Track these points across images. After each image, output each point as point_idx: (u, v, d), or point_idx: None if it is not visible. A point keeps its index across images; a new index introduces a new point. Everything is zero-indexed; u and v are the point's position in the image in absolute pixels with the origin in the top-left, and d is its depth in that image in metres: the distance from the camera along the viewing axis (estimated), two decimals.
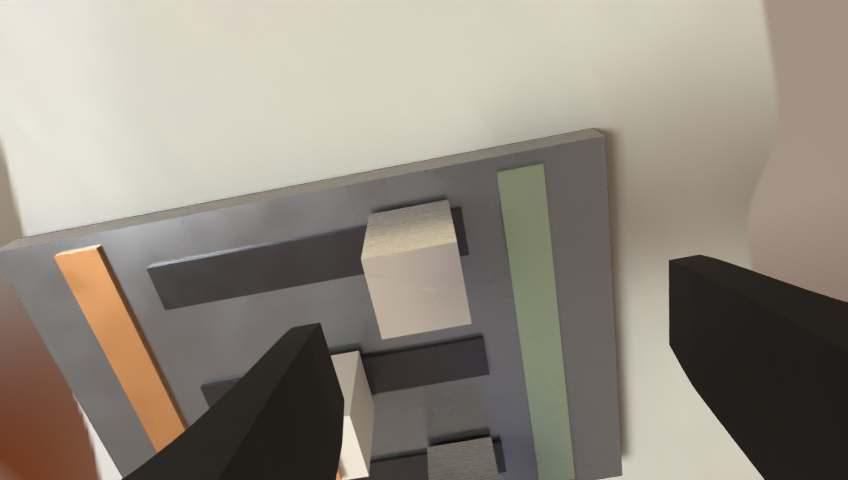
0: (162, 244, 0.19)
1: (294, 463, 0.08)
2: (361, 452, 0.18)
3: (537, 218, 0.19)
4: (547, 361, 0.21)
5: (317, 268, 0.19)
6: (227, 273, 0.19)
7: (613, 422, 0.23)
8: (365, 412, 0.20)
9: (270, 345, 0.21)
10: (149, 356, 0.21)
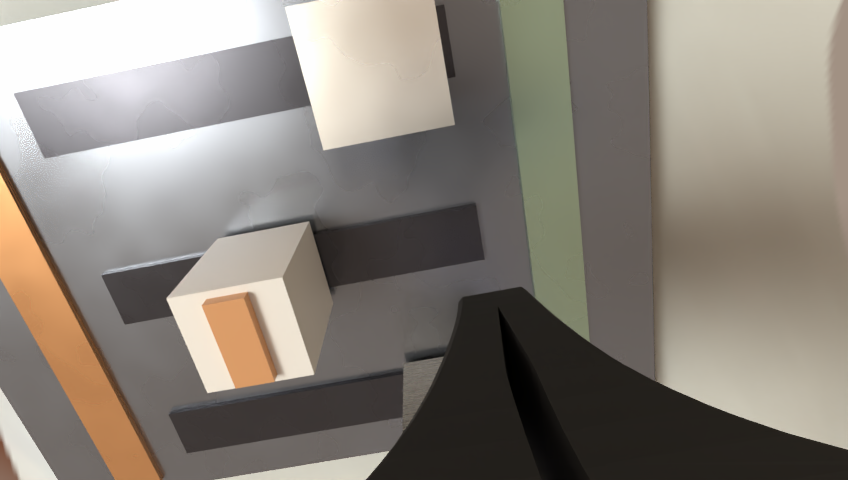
0: (33, 59, 0.14)
1: None
2: (302, 337, 0.13)
3: (549, 20, 0.14)
4: (561, 240, 0.16)
5: (248, 95, 0.14)
6: (125, 102, 0.14)
7: (646, 332, 0.18)
8: (315, 297, 0.15)
9: (192, 215, 0.16)
10: (29, 228, 0.16)
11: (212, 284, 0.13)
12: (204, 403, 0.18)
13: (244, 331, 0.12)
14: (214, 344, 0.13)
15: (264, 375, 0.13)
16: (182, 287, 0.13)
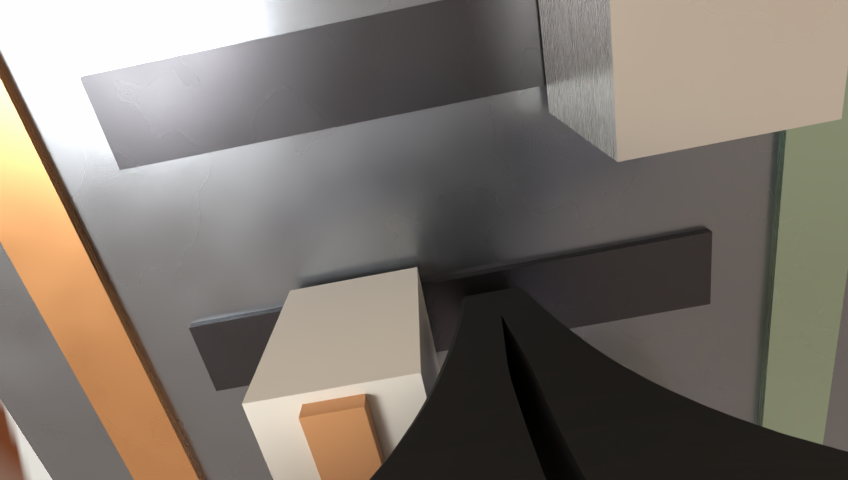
0: (109, 26, 0.10)
1: None
2: None
3: None
4: (818, 278, 0.12)
5: (416, 79, 0.10)
6: (240, 89, 0.10)
7: None
8: (434, 378, 0.10)
9: (317, 247, 0.11)
10: (94, 266, 0.11)
11: (309, 379, 0.08)
12: None
13: (360, 452, 0.08)
14: (309, 465, 0.09)
15: None
16: (262, 382, 0.09)
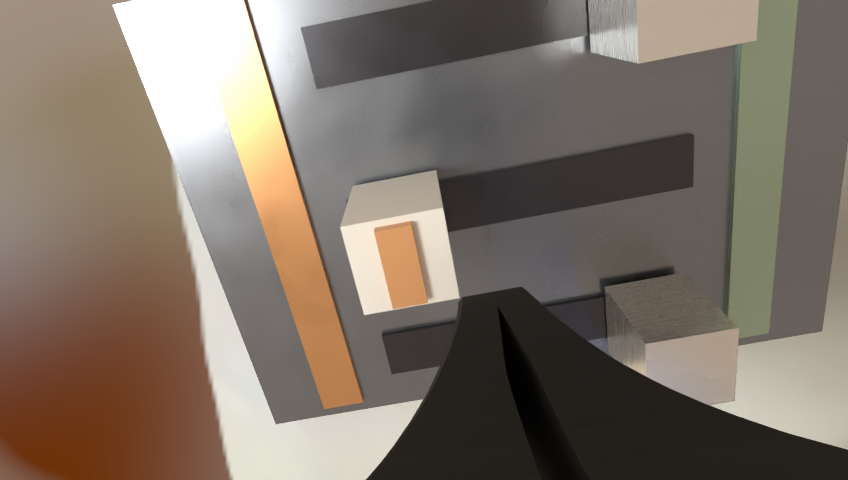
0: None
1: None
2: (453, 263, 0.15)
3: None
4: (764, 169, 0.18)
5: (509, 30, 0.16)
6: (398, 36, 0.16)
7: (824, 258, 0.19)
8: None
9: (435, 145, 0.17)
10: (290, 156, 0.17)
11: (377, 215, 0.14)
12: (414, 326, 0.20)
13: (407, 255, 0.14)
14: (376, 269, 0.15)
15: (419, 297, 0.15)
16: (349, 219, 0.15)
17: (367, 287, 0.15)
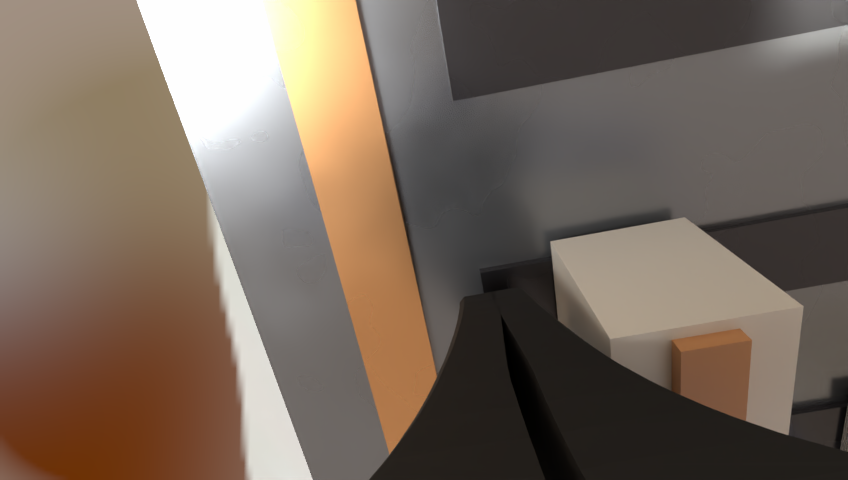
0: None
1: None
2: (790, 396, 0.08)
3: None
4: None
5: (780, 4, 0.10)
6: (597, 13, 0.09)
7: None
8: None
9: (626, 188, 0.11)
10: (399, 206, 0.11)
11: (669, 314, 0.08)
12: None
13: (730, 390, 0.08)
14: None
15: None
16: (612, 319, 0.08)
17: None
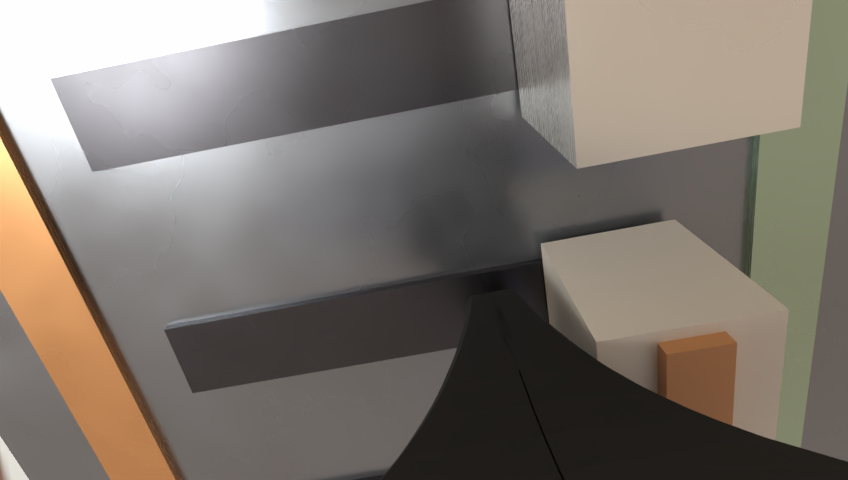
0: (80, 28, 0.10)
1: None
2: (776, 399, 0.08)
3: None
4: (793, 283, 0.12)
5: (389, 82, 0.10)
6: (211, 91, 0.10)
7: None
8: None
9: (292, 250, 0.11)
10: (68, 268, 0.11)
11: (655, 318, 0.08)
12: None
13: (716, 393, 0.08)
14: None
15: None
16: (599, 322, 0.08)
17: None
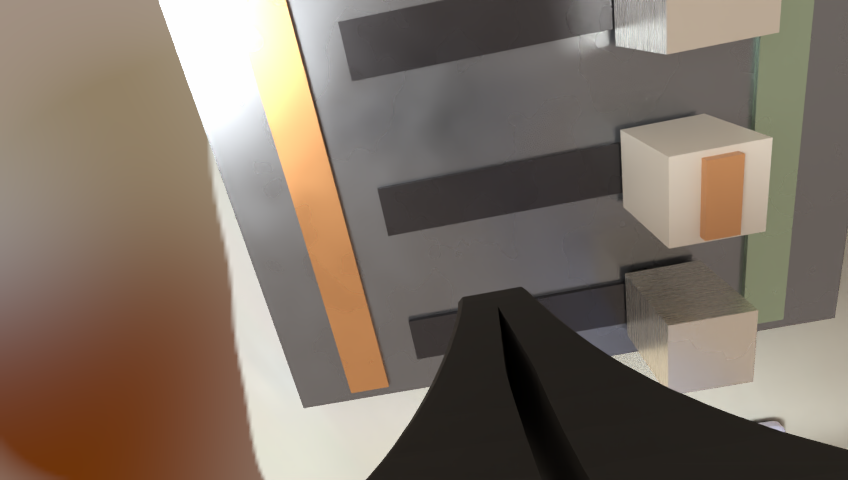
0: None
1: None
2: (766, 196, 0.15)
3: None
4: (781, 159, 0.18)
5: (537, 24, 0.17)
6: (431, 30, 0.16)
7: (837, 246, 0.20)
8: None
9: (463, 135, 0.18)
10: (324, 146, 0.18)
11: (700, 147, 0.15)
12: (440, 312, 0.21)
13: (733, 185, 0.15)
14: (692, 201, 0.15)
15: (733, 228, 0.15)
16: (668, 151, 0.15)
17: (679, 220, 0.15)
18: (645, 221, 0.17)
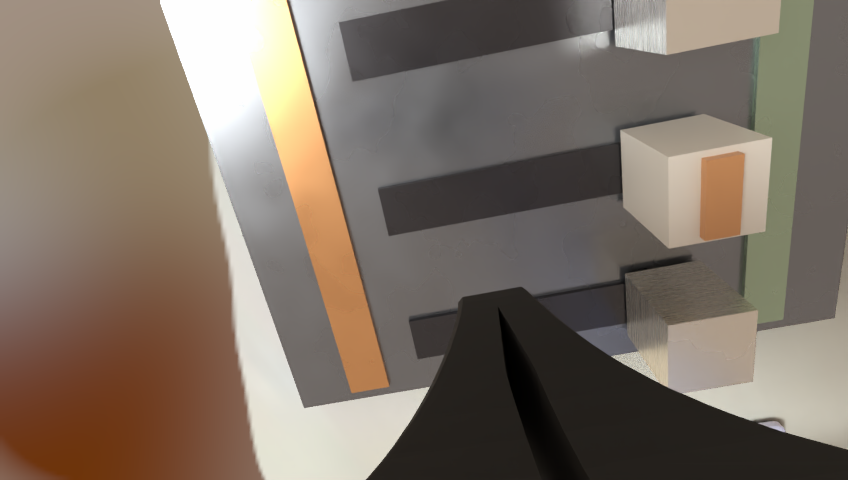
0: None
1: None
2: (766, 196, 0.15)
3: None
4: (780, 159, 0.18)
5: (537, 25, 0.17)
6: (432, 30, 0.17)
7: (837, 246, 0.20)
8: None
9: (464, 135, 0.18)
10: (325, 146, 0.18)
11: (699, 147, 0.15)
12: (440, 312, 0.21)
13: (733, 185, 0.15)
14: (692, 201, 0.15)
15: (733, 228, 0.15)
16: (668, 151, 0.15)
17: (678, 220, 0.15)
18: (645, 221, 0.17)
